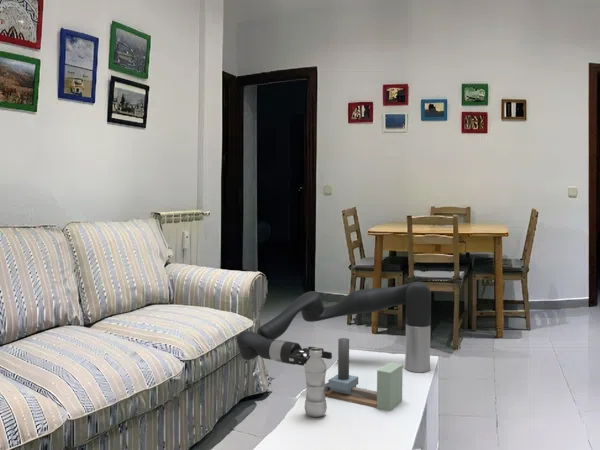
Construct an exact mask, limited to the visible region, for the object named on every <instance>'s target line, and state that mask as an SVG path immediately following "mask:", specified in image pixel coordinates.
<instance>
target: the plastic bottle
mask: <svg viewBox="0 0 600 450" xmlns="http://www.w3.org/2000/svg"><path fill="white" fill-rule="evenodd" d="M319 348H320V347H316V348H312V349H310V351H309V356H310V358H309V359H308V361H307V362H306V364H304V373H305V375H304V376H305V383H306V387H305V388H306V393H305V399H304V400H305V401H304V411H305V414H306V415H307V416H309V417H313V418H318V417H323V416H325V415H326V413H327V409H328V408H327V405H328V404H327V400H326V396H325V389H324V388H325V386H324V385H325V384H326V381H325V380H326V375H327V366H326V365H327V364H326V363H325V361H324V360H323V359H324V358H321V356H322V349H319Z"/></svg>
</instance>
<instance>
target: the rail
mask: <svg viewBox="0 0 600 450" xmlns="http://www.w3.org/2000/svg"><path fill="white" fill-rule="evenodd" d="M324 386H325V388H324V389H325V398H331V399H336V400H340V401H343V402H344V401H345V402H349V403H353V404H359V405H363V406H366V407H367V406H368V407H372V408H376V409H377V390H373V389H367V388H363V387H362V388H361V387H358V386H356V387H353V388H351V393H350V394H348V393H343V392H339V391H334V390H331V387H328V382H325V385H324Z"/></svg>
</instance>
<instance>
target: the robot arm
mask: <svg viewBox="0 0 600 450" xmlns="http://www.w3.org/2000/svg"><path fill="white" fill-rule="evenodd" d="M322 299H323V298H322V295H321V294H320V292H318V291H314V290H313V291H312V290H311V291H307V292H305V293H303V294H301V295H300V296H298V297H297V298H296V299H295V300H294V301H293V302H292V303H290V304H289V305H288V306H287V307H286V308H285V309H284V310H283V311H281V312H280V313H279V314H278V315H276V316H275V317H273V318H272V319H270V320H269V321H267V322H265V323H264V324H262V325H261V326H259V327H258V329H257V330H256V332H254V331H250V330H245V331H241V332H240V333H238V335H237V336H236V344H237V348H238V351H239V354H240V356H241V358H242V359H243V360H245V361H251V360H254V359H256V358H257V357H260V358H261V359H266V360H270V361H275V362H278V363H283V364H287V365H294V366H295V365H297V366H302V367H303V366H304V367H305V364H306V362H307V361H308V359H309V358H310V356H309V351H310V349H312V348H317V347H315V346H308V347H303V348H302V346H301V345H300V343H298V342H294V341H287V340H280V339H278V338H280V337H281V336H282V335H284V333H285V332H286V331H287V330H288V328H289V327H290V325H291V324H292V322H293V321H294V318H296V317H297V315H298V314H299V313H301V315H302V319H303V321H305V322H309V323H315V322H320V321H324V320H328V319H333V318H338V317H345V316H352V315H359V314H360V315H362V314H369V313H374V312H375V313H376V312H378V311H383V310H386V309H389V308H391V307H394V306H402V305H405V354H404V355H405V359H404V360H405V362H404V363H405V366H404V368H405V370H407V371H410V372H412V373H428V372H429V371H430V370H431V325H432V324H431V322H432V321H431V319H432V291H431V288H430V287H429V285H428V284H426V282H423V281H414V282H413V281H412V282H409V283H406V284H400V285H397V286H389V287H387V286H386V287H375V288H373V287H372V288H365V289H358V290H357V289H356V290H353V291H352V292H350V293H348V294H347V295H346V296H345V297H344V298H343V299H341V300H340V301H339V302H337V303H336V304H333V305H330V306H324V303H323V300H322ZM276 339H277V340H276ZM318 348H319V349H322V356H321V358H322V359H328V360H332V358H333V353H332V352H330V351H326V350H325V351H324V348H321V347H318Z"/></svg>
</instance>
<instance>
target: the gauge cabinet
mask: <svg viewBox="0 0 600 450" xmlns="http://www.w3.org/2000/svg"><path fill="white" fill-rule="evenodd" d="M403 368H404V366H403V364H401V363H396V362H391V361H390V362H388V363H386V364H385V365H383V366H382V367H380V368H379V369H378V370H377V371H376V391H377V408H376V409H378V410H383V411H386V412H391V411H392V410H393V409H394V408H396V407H397V406H399V405H400V404H401V403H402V402H403V379H404V378H403V377H404V376H403V373H404V372H403V371H404V370H403Z"/></svg>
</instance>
